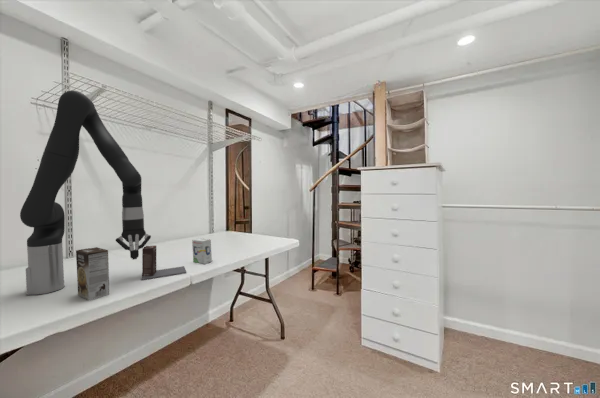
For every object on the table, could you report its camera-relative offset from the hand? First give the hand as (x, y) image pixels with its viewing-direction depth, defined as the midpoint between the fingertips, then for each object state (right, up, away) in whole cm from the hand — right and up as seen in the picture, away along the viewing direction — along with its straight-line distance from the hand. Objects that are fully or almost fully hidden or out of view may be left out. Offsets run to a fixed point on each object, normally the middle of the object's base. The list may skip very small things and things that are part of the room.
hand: (134, 258), depth 106 cm
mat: (+9, -8, +6) cm, 13 cm away
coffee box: (-4, -9, -17) cm, 19 cm away
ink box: (+19, -7, +23) cm, 31 cm away
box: (+5, -8, +3) cm, 9 cm away
